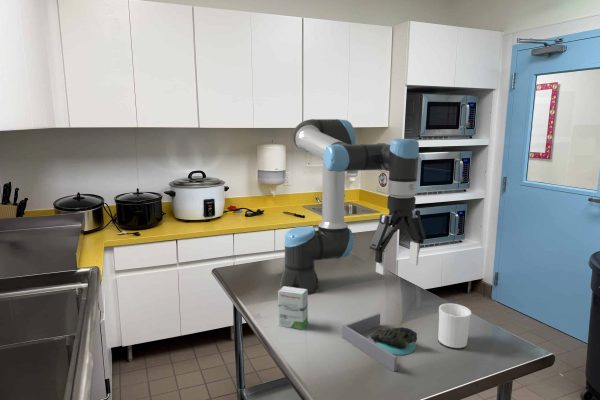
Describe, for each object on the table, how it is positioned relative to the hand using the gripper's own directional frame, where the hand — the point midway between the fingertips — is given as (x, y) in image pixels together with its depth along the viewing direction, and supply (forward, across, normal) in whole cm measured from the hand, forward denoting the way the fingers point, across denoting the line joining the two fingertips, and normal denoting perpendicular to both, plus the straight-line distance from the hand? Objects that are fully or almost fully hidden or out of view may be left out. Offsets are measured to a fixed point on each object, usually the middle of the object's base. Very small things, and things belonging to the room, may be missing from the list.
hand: (397, 268), depth 119 cm
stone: (+23, -1, -1) cm, 23 cm away
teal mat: (+23, -1, -2) cm, 23 cm away
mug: (+23, +15, -10) cm, 29 cm away
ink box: (+23, -19, +25) cm, 39 cm away
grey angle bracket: (+23, -4, 0) cm, 23 cm away
